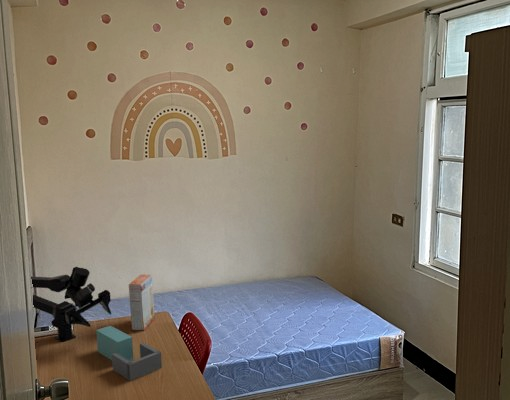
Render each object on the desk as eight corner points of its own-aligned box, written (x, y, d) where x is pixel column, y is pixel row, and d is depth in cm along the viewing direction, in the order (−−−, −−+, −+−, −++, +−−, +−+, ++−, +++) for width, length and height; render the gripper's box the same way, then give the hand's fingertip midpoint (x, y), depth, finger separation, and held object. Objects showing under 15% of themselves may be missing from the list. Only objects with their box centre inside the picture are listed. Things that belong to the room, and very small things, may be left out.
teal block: (97, 351, 195) (96, 330, 193) (111, 346, 199) (110, 325, 198) (119, 365, 184) (117, 342, 182) (133, 359, 188) (132, 337, 186)
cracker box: (142, 318, 228) (140, 273, 225) (155, 318, 227) (152, 274, 224) (130, 330, 214) (127, 283, 211) (144, 331, 213) (141, 284, 210)
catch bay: (112, 369, 180) (111, 354, 179) (143, 357, 189) (143, 342, 188) (130, 381, 172) (129, 364, 171) (161, 367, 181) (161, 352, 180)
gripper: (54, 294, 191) (77, 319, 183) (97, 271, 202) (120, 294, 195) (57, 312, 197) (79, 337, 190) (99, 290, 209) (121, 312, 202)
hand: (100, 319), depth 194 cm, fingers open, 9 cm apart
